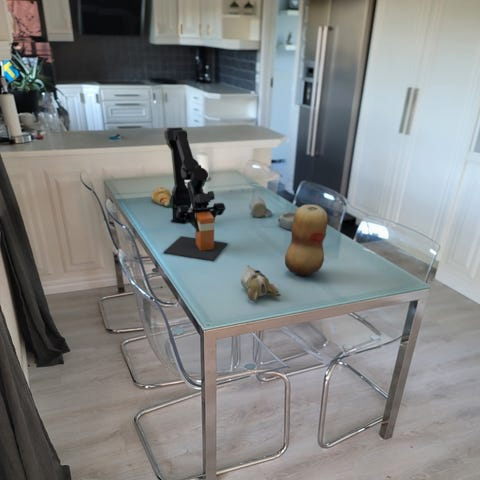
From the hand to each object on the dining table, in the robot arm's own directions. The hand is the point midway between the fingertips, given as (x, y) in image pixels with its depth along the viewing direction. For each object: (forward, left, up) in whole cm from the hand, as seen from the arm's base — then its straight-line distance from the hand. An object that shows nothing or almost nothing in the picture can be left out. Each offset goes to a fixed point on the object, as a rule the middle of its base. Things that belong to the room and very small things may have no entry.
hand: (205, 230), depth 182 cm
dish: (+28, +41, -8) cm, 50 cm away
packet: (-1, +1, -7) cm, 7 cm away
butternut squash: (+40, -8, -8) cm, 42 cm away
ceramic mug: (+10, +50, -8) cm, 52 cm away
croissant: (-41, +50, -8) cm, 65 cm away
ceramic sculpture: (+28, -29, -8) cm, 41 cm away
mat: (-4, 0, -8) cm, 9 cm away
